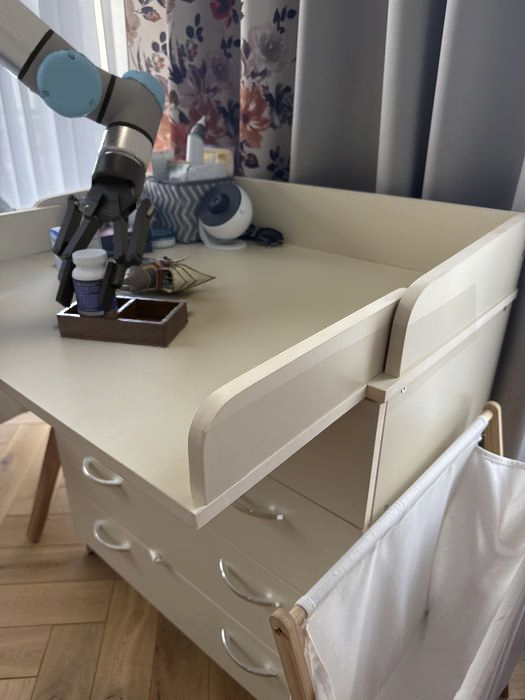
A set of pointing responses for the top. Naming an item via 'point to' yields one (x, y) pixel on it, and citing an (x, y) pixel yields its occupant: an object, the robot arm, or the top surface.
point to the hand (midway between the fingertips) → (83, 305)
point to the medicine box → (93, 244)
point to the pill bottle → (90, 281)
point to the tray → (128, 322)
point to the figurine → (162, 276)
